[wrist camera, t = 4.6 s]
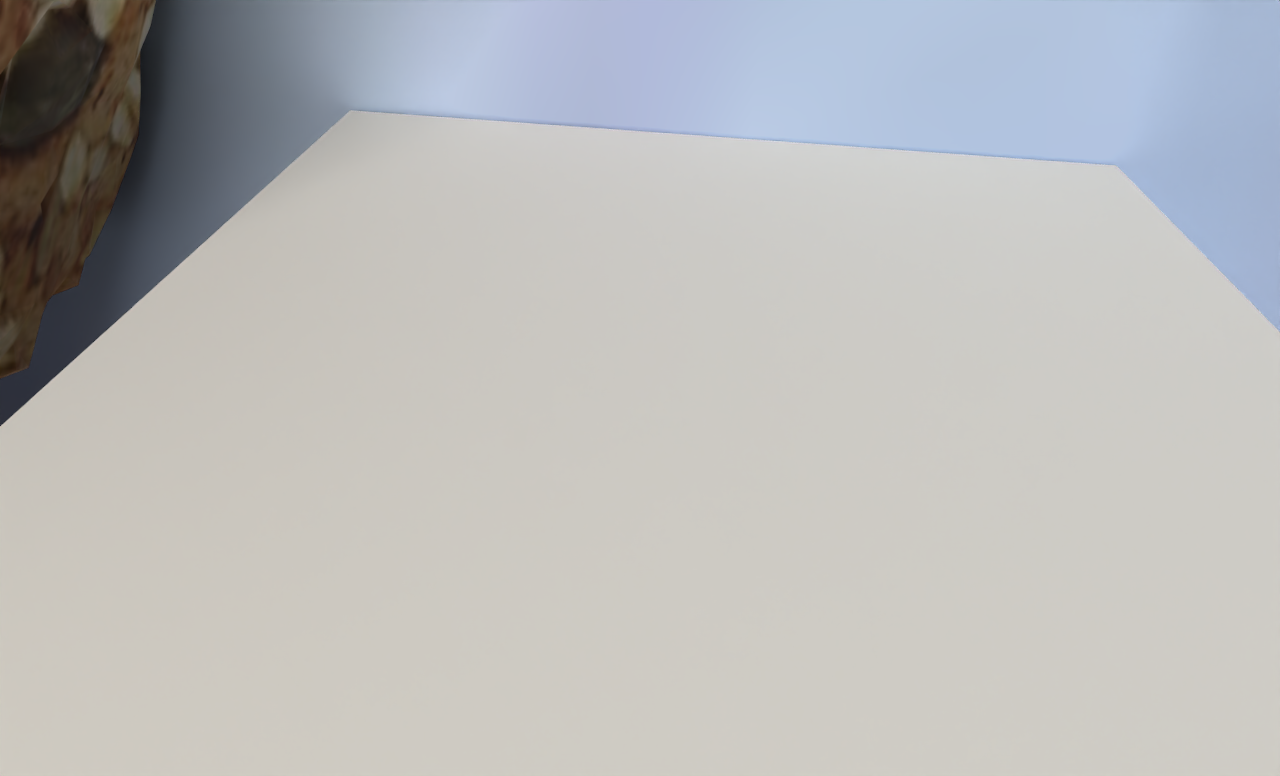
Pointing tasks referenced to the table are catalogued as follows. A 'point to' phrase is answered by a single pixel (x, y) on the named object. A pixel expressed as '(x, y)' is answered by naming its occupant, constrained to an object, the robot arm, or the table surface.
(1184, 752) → the hollow block
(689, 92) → the table surface
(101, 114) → the bread
